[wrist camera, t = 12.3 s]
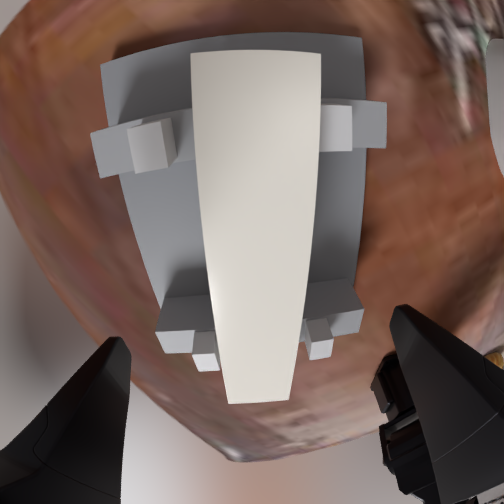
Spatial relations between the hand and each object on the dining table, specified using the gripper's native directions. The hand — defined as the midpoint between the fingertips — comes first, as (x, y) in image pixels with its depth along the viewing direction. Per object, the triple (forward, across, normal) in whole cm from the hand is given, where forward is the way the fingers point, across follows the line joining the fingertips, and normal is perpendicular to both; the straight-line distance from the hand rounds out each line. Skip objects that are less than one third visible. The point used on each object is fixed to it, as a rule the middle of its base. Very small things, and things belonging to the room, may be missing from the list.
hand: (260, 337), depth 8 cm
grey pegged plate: (+9, 0, 0) cm, 9 cm away
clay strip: (+5, 0, 0) cm, 5 cm away
